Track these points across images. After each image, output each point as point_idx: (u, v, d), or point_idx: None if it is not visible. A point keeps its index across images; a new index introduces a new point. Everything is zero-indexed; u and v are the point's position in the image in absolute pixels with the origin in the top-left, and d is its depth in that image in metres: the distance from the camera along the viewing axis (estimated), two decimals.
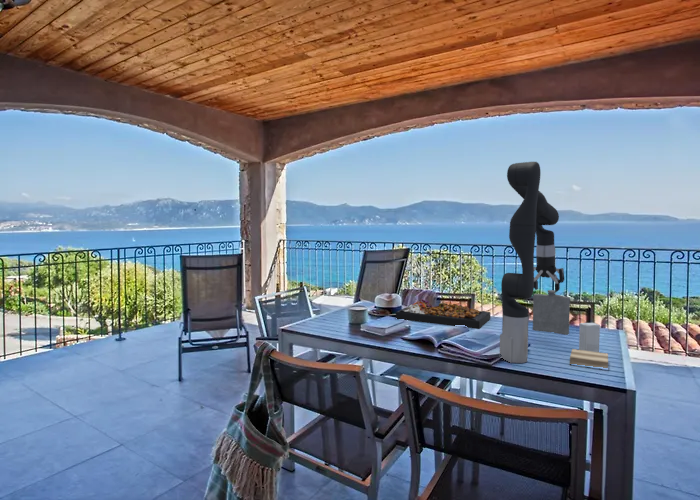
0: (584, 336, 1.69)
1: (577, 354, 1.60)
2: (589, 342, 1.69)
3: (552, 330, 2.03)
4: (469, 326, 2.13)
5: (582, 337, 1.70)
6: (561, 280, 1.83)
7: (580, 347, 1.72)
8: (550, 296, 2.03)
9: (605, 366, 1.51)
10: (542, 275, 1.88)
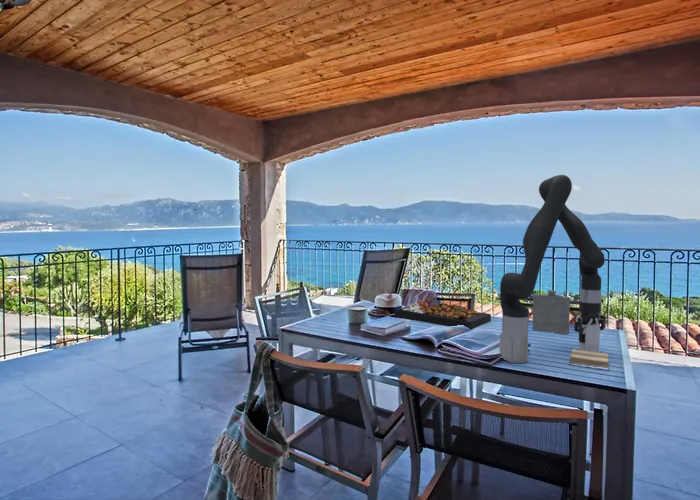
0: None
1: (577, 354, 1.60)
2: (589, 342, 1.69)
3: (552, 330, 2.03)
4: None
5: None
6: None
7: (581, 347, 1.72)
8: (550, 296, 2.03)
9: (605, 366, 1.51)
10: None
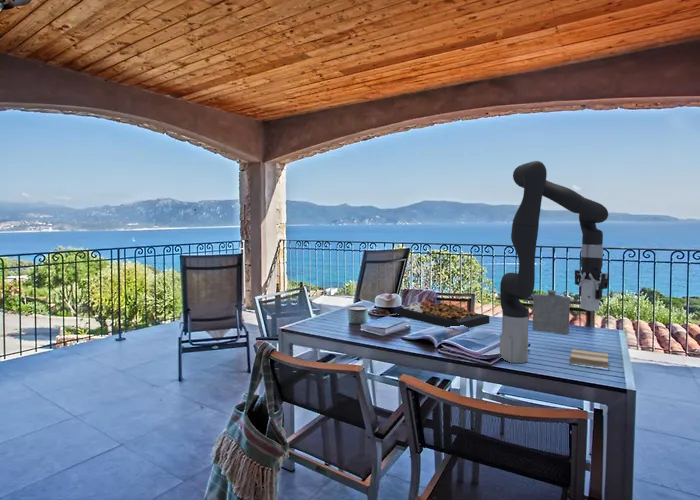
0: None
1: (577, 354, 1.60)
2: None
3: (552, 330, 2.03)
4: None
5: (595, 294, 1.67)
6: (602, 286, 1.63)
7: (592, 305, 1.67)
8: (550, 296, 2.03)
9: (605, 366, 1.51)
10: None
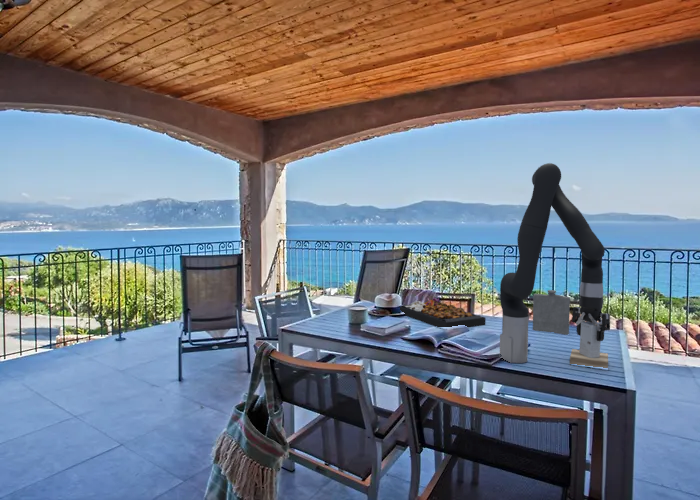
0: None
1: (577, 354, 1.60)
2: None
3: (552, 330, 2.03)
4: (440, 326, 2.13)
5: (596, 340, 1.56)
6: (603, 327, 1.52)
7: (593, 351, 1.56)
8: (550, 296, 2.03)
9: (605, 366, 1.51)
10: (585, 319, 1.59)
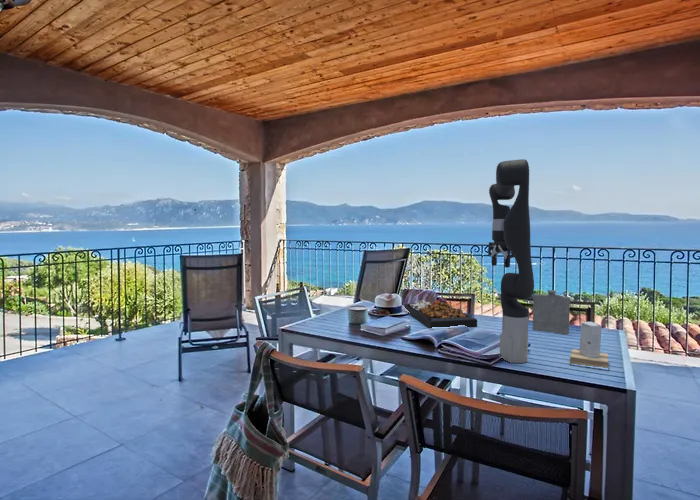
0: (599, 338, 1.56)
1: (577, 354, 1.60)
2: None
3: (552, 330, 2.03)
4: (426, 325, 2.16)
5: (596, 340, 1.56)
6: (508, 255, 1.81)
7: (593, 351, 1.56)
8: (550, 296, 2.03)
9: (605, 366, 1.51)
10: (497, 250, 1.89)
